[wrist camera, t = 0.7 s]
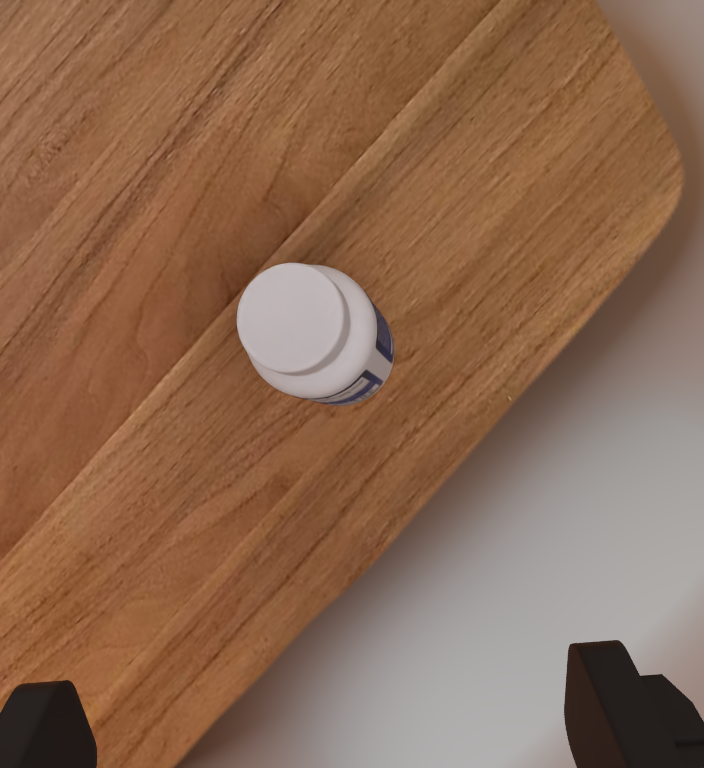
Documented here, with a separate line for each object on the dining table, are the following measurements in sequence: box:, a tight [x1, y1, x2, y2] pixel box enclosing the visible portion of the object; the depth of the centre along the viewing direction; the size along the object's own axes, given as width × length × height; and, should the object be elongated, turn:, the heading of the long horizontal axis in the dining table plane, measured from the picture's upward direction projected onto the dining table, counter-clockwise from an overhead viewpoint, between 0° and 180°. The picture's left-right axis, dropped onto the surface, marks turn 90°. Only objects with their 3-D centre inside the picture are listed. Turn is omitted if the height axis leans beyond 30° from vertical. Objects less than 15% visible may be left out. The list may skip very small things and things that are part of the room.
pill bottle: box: [237, 263, 395, 406], centre depth 27 cm, size 5×5×10 cm
